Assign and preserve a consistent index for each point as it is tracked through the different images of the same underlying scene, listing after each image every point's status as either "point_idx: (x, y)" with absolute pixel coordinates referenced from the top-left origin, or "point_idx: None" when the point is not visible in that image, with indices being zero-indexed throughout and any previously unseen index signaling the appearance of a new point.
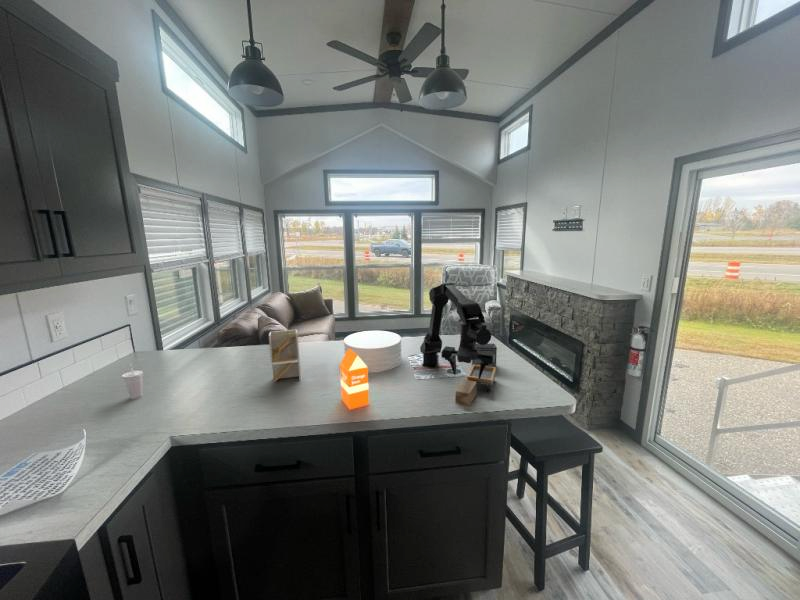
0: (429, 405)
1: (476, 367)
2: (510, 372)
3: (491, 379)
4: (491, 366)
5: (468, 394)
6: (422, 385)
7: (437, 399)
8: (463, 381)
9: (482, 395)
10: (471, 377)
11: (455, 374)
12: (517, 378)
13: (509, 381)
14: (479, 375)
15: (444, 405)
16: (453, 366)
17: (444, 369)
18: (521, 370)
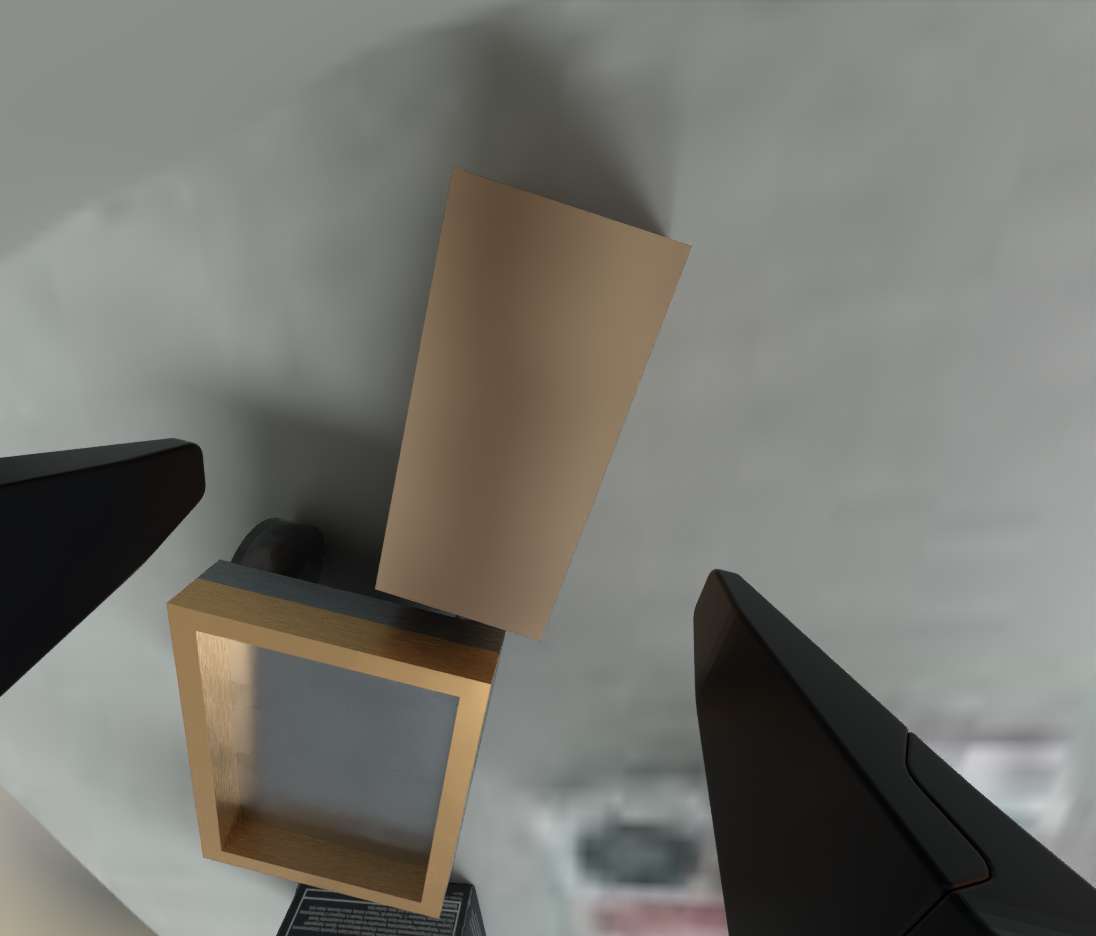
0: (1078, 93)
1: (408, 872)
2: None
3: (180, 618)
4: (327, 897)
5: (467, 172)
6: (1027, 622)
7: (904, 305)
8: (548, 583)
9: (364, 466)
10: (437, 664)
11: (704, 588)
12: (133, 754)
13: (178, 713)
14: (115, 459)
15: (832, 140)
16: (862, 745)
17: (719, 883)
18: (135, 848)
